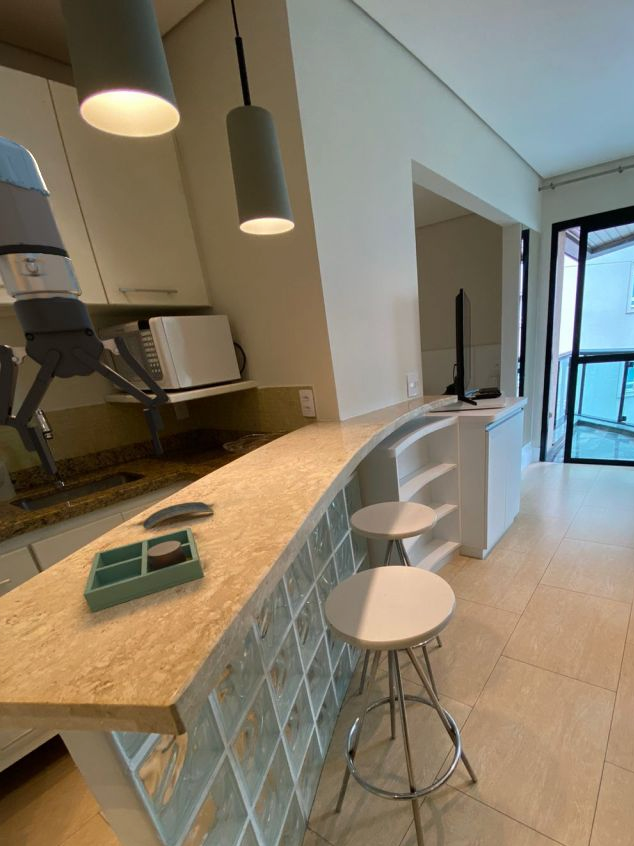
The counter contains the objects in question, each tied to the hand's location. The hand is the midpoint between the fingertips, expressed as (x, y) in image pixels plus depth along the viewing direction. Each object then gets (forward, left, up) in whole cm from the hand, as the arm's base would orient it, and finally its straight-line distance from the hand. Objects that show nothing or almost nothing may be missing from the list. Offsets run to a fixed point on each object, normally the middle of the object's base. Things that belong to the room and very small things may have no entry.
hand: (108, 462), depth 59 cm
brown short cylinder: (+2, +3, -19) cm, 19 cm away
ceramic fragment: (-23, +6, -20) cm, 31 cm away
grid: (-1, 0, -19) cm, 19 cm away
